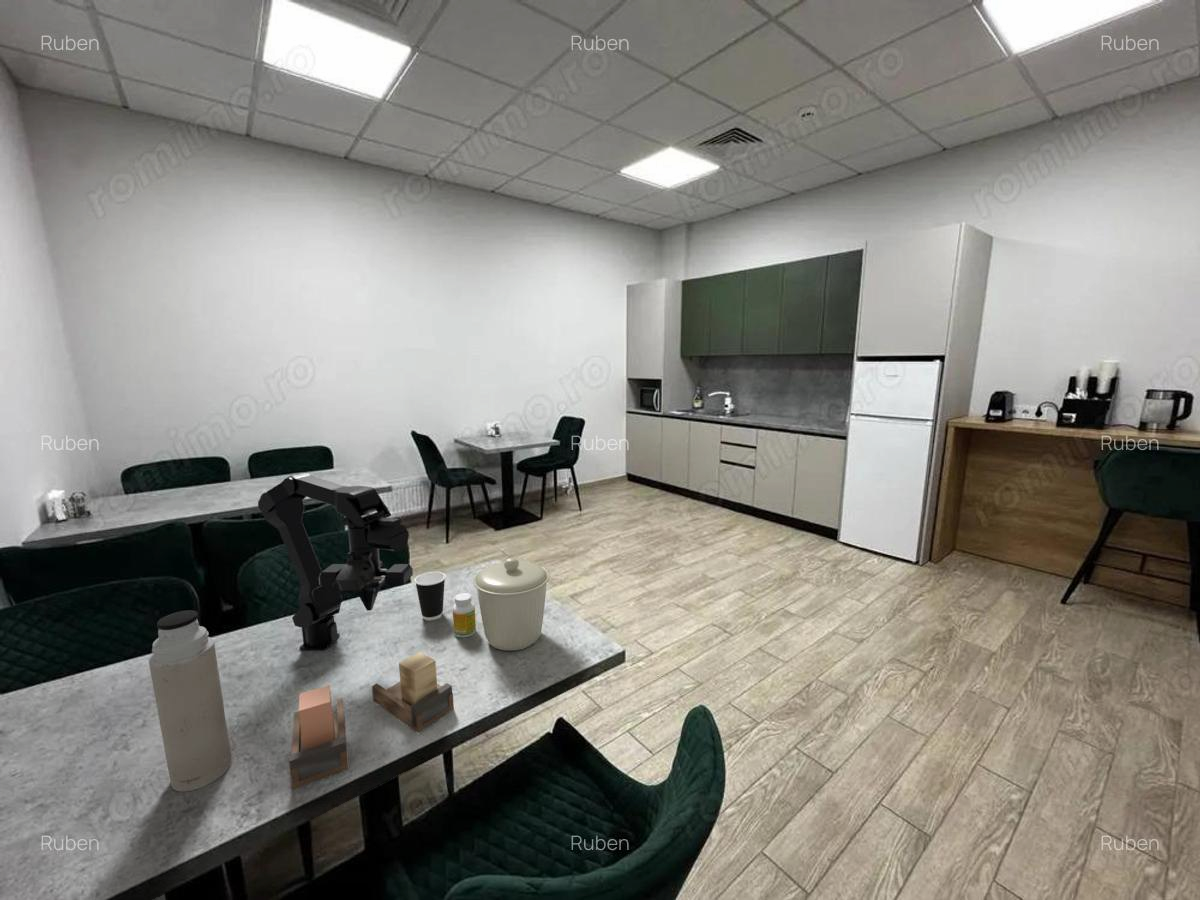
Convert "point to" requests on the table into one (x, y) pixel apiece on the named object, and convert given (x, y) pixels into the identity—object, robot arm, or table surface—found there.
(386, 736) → the table surface
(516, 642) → the canister
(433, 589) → the dixie cup
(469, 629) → the supplement bottle
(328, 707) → the terracotta slider
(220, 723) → the thermos bottle
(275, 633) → the table surface
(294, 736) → the dark wooden block holder
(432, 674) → the oak slider
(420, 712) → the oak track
